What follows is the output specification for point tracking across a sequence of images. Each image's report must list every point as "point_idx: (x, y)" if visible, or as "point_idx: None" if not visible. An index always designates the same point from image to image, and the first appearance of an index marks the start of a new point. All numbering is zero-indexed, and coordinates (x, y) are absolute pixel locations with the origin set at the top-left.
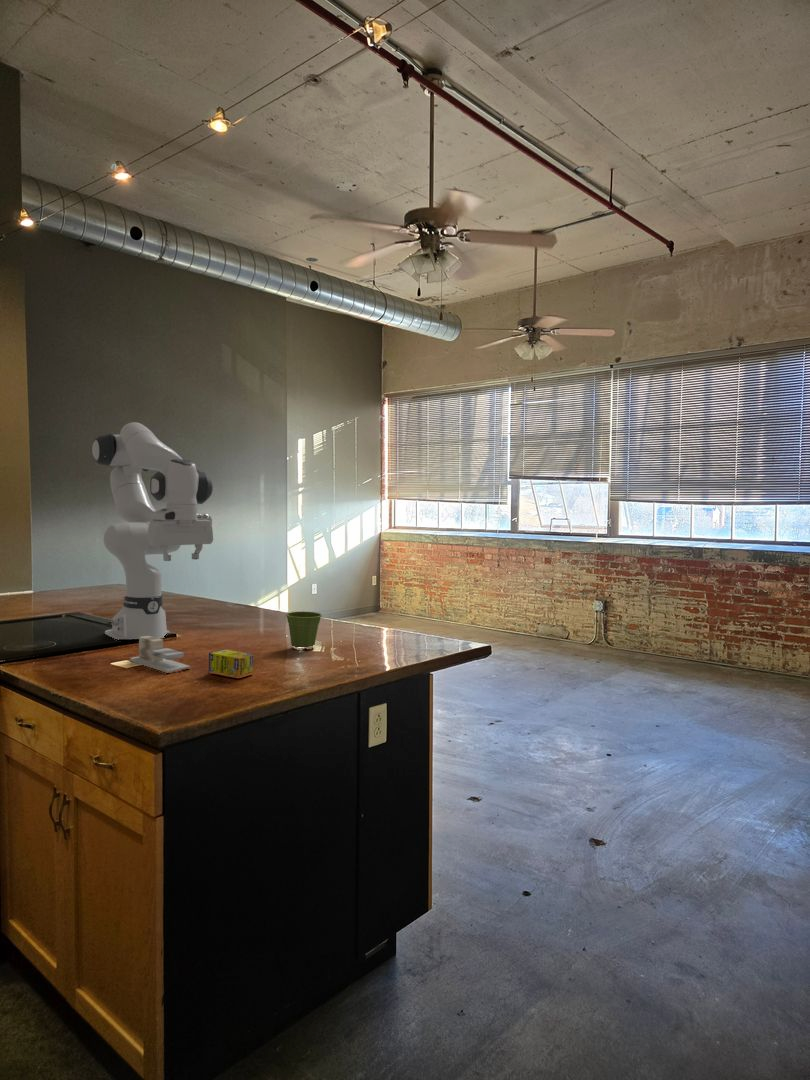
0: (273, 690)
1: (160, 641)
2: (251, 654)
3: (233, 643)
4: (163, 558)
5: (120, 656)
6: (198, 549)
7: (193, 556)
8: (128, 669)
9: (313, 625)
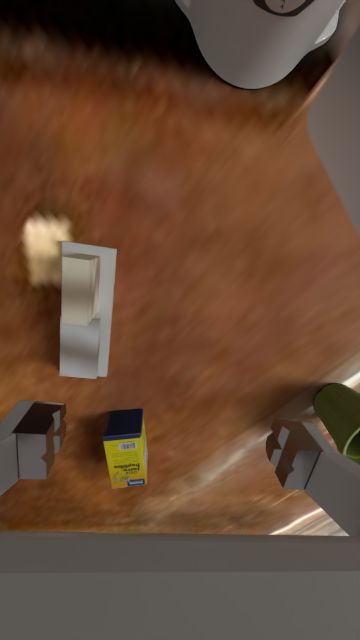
0: (114, 510)
1: (80, 324)
2: (144, 483)
3: (309, 277)
4: (13, 409)
5: (74, 181)
6: (349, 520)
7: (283, 448)
8: (29, 294)
9: (353, 456)
